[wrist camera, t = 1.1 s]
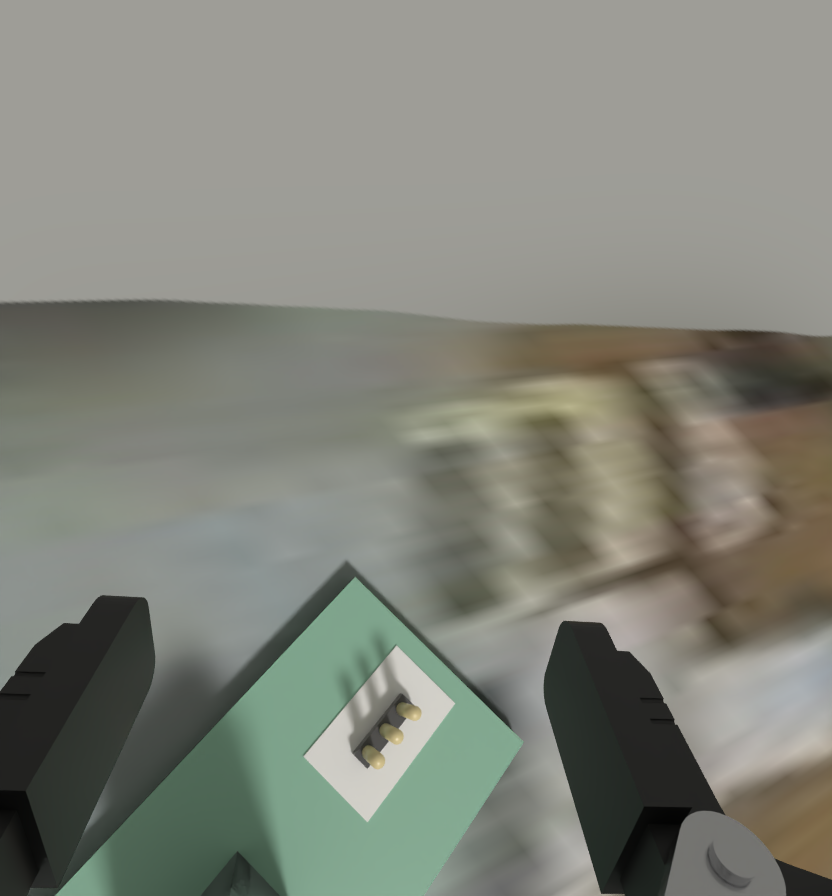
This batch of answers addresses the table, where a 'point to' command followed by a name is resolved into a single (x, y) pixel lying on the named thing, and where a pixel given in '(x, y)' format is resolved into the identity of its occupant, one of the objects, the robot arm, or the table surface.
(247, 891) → the block
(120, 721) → the robot arm
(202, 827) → the pale green flat block
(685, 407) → the table surface
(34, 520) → the table surface
